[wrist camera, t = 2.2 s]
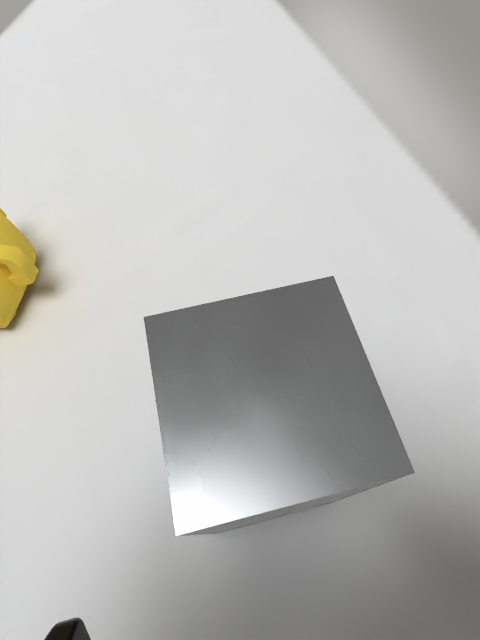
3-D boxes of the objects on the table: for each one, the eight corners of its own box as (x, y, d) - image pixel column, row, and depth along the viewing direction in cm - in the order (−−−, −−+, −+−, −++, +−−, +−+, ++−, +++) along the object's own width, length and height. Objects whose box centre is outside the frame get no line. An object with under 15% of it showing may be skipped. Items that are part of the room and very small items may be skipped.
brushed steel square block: (332, 502, 18) (414, 472, 9) (214, 533, 17) (176, 535, 8) (296, 389, 20) (333, 275, 11) (192, 414, 20) (143, 316, 11)
